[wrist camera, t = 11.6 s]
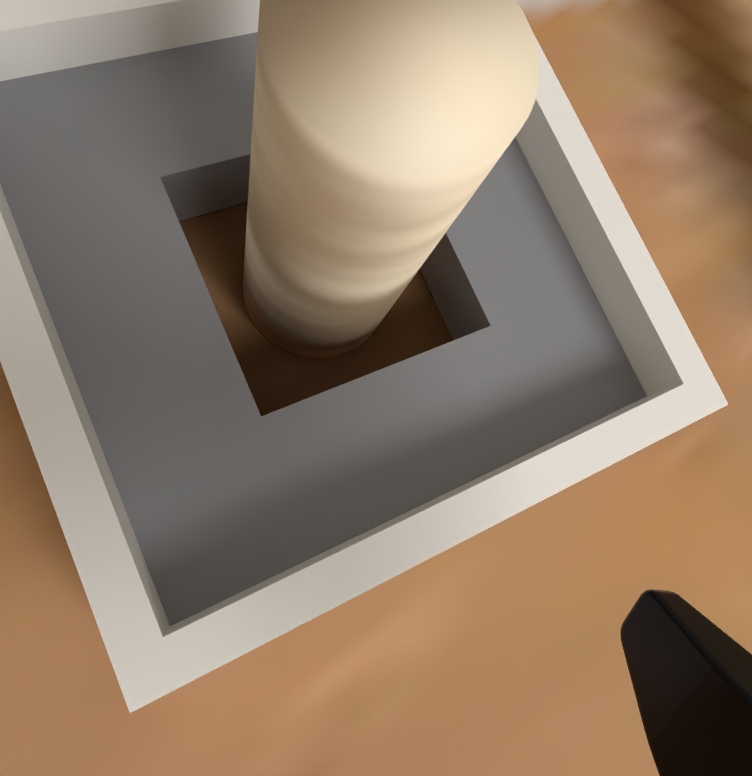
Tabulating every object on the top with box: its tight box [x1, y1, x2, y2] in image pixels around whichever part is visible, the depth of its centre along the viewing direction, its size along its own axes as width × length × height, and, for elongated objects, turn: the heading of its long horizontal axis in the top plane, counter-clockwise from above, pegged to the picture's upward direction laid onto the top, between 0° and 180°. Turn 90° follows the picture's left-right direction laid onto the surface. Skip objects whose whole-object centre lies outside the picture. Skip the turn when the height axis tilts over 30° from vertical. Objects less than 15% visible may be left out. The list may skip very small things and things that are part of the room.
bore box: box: [0, 0, 728, 713], centre depth 17 cm, size 16×16×4 cm
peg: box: [243, 0, 539, 359], centre depth 14 cm, size 4×4×10 cm
